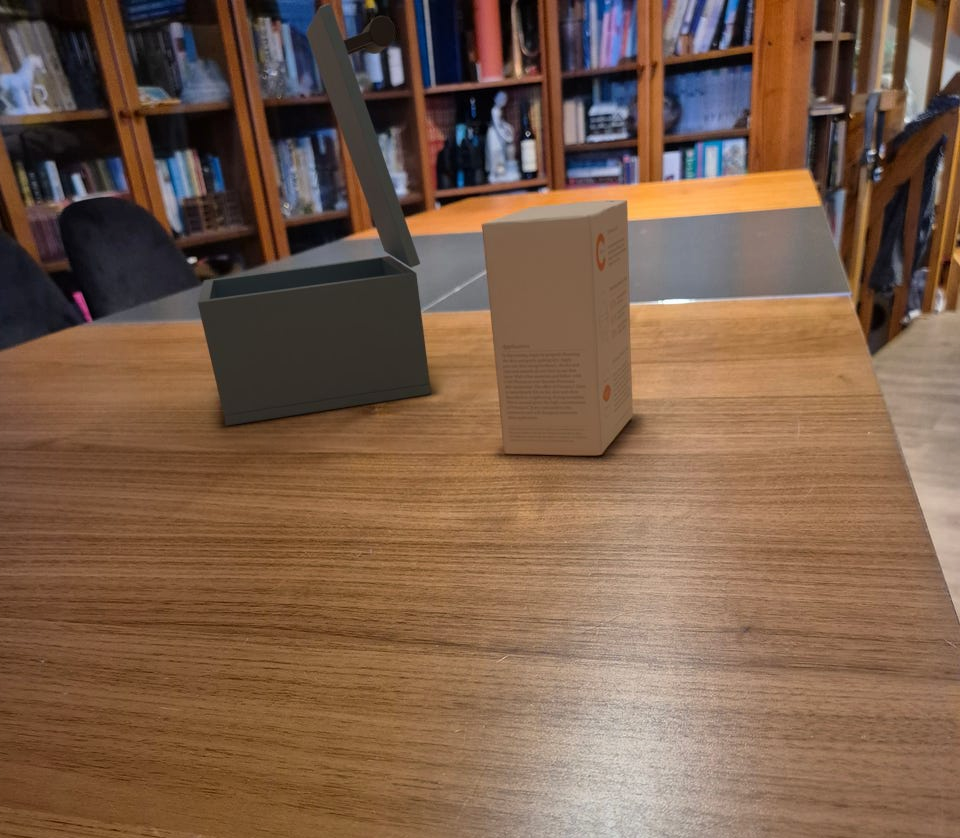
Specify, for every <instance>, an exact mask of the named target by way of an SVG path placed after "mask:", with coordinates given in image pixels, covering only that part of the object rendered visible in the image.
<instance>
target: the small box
mask: <svg viewBox="0 0 960 838" xmlns="http://www.w3.org/2000/svg"><path fill="white" fill-rule="evenodd" d="M628 214H629V213H628V200H626V199H608V200H607V199H605V200H592V201H591V200H590V201H577V202H576V201H575V202H567V203H555V204H548V205H547V204H546V205H539V206H538V205H537V206H530V207H526V208H523V209H521V210H518V211H515V212H512V213H509V214H507V215H504V216H501V217H498V218H495V219H492V220H489V221H486V222H483V223H481V230H482V241H483V249H484V250H483V251H484V260H485V272H486V282H487V291H488V301H489V311H490V322H491V332H492V343H493V353H494V365H495V374H496V383H497V393H498V404H499V416H500V424H501V435H502V436H501V437H502V449H503V452H504V453H505V454H506V455H549V456H551V455H552V456H600V455H603V453H604V452H605V451H606V449H607V448H608V447H609V446H610V444H611V443H612V442H613V441H614V440H615V438H616V437H617V436H618V435H619V434H620V432H621V431H622V430H623V428H625V426H626V425H627V424H628V422H629V421H630V420H631V419H632V418H633V416H634V411H633V407H634V406H633V376H632V374H633V373H632V354H631V353H632V349H631V302H630V301H631V298H630V297H631V296H630V295H631V294H630V259H629V258H630V257H629V255H630V254H629V253H630V252H629V217H628V216H629V215H628Z"/></svg>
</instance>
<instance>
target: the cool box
mask: <svg viewBox="0 0 960 838" xmlns="http://www.w3.org/2000/svg"><path fill="white" fill-rule="evenodd" d="M420 299H421V298H420V291H419V283H418V275H417V272H415V271H414V270H412V269H411V268H410V267H409V266H407V265H406V264H404V263H402V262H401V261H399V260H398V259H396V258H395V257H393V256H391V255H386V256H385V255H384V256H379V257H370V258H363V259H355V260H348V261H340V262H333V263H324V264H316V265H309V266H302V267H295V268H287V269H279V270H272V271H265V272H257V273H248V274H241V275H234V276H227V277H226V276H225V277H217V278H211V279H204V280H203V282H202V286H201V289H200V292H199V297H198V300H197V306H198V307H197V308H198V310H199V316H200V320H201V323H202V328H203V331H204V337H205V341H206V345H207V349H208V354H209V358H210V363H211V366H212V371H213V375H214V379H215V384H216V388H217V392H218V393H217V394H218V397H219V401H220V405H221V409H222V414H223V418H224V423H225V426H226V427H227V426H235V425H240V424H241V425H242V424H247V423H254V422H261V421H267V420H273V419H279V418H286V417H292V416H293V417H294V416H299V415H305V414H313V413H319V412H324V411H331V410H338V409H343V408H350V407H357V406H363V405H370V404H376V403H382V402H388V401H389V402H390V401H395V400H401V399H407V398H409V399H410V398H415V397H420V396H428V395H431V394H432V389H431V382H430V380H431V379H430V374H429V373H430V372H429V365H428V357H427V348H426V341H425V340H426V339H425V332H424V325H423V324H424V323H423V315H422V309H421V307H422V306H421V300H420Z"/></svg>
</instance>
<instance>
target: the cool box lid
mask: <svg viewBox="0 0 960 838" xmlns="http://www.w3.org/2000/svg"><path fill="white" fill-rule="evenodd" d="M305 35H306V38H307V41H308V43H309V47H310V49H311V52H312V55H313V57H314V61H315V63H316V65H317V68H318V71H319V74H320V77H321V79H322V82H323V85H324V88H325V90H326V93H327V96H328V99H329V102H330V104H331V107H332V110H333V113H334V116H335V118H336V121H337V124H338V126H339V130H340V132H341V135H342V137H343V141H344V143H345V146H346V149H347V151H348V154H349V157H350V160H351V162H352V165H353V168H354V171H355V173H356V177H357V179H358V182H359V184H360V187H361V190H362V193H363V196H364V198H365V202H366V204H367V207H368V210H369V213H370V215H371V218H372V220H373V223H374V226H375V229H376V232H377V234H378V237H379V240H380V243H381V246H382V248H383V251H384V252H385V253H387V254H388V255H389V256H390V257H392V258H394V259H395V260H397V261H398V262H400V263H401V264H403V265H405V266H406V267H408V268H409V269H411V268H414V267H416V266H419V265H420V264H421V261H420V257H419V254H418V251H417V249H416V246H415V244H414V241H413V238H412V234H411V232H410V229H409V226H408V223H407V221H406V217H405V215H404V212H403V209H402V206H401V203H400V200H399V197H398V195H397V192H396V189H395V186H394V182H393V180H392V177H391V174H390V171H389V168H388V165H387V163H386V160H385V157H384V154H383V151H382V148H381V145H380V142H379V140H378V137H377V134H376V133H377V132H376V130H375V128H374V124H373V122H372V118H371V116H370V113H369V110H368V108H367V104H366V102H365V99H364V96H363V93H362V90H361V87H360V84H359V81H358V79H357V76H356V73H355V70H354V67H353V63H352V60H351V58H350V56H351V55H352V54H355V53H358V52H361V51H363V50H365V51H366V52H367V53H369V54H372V55H377V54H379V53H381V52H382V51H384V50H385V49H387V48H388V47H389V46H390V45H391V44H392V43H393V42H394V40H395V37H396V27H395V24H394V22H393V21H392V20H391V19H390V18H389V17H388V16H385V15H378V16H376V17H374V18H373V19H371V21H370V22H369V23H368V24H367V25H365V28H363V30H362V31H361V32H360V33H358V34H356V35H353V36H350V37H349V38H345V39H344V38H343V35H342V32H341V30H340V26H339V23H338V21H337V17H336V14H335V12H334V8H333V6H332V4H331V2H330V3H326V4H323V5H321V6H319V8H318V9H317V10H316V13H315V15H314V16H313V19H312V20H311V22H310V24H309V25H308V28H307V30H306V31H305Z"/></svg>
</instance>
